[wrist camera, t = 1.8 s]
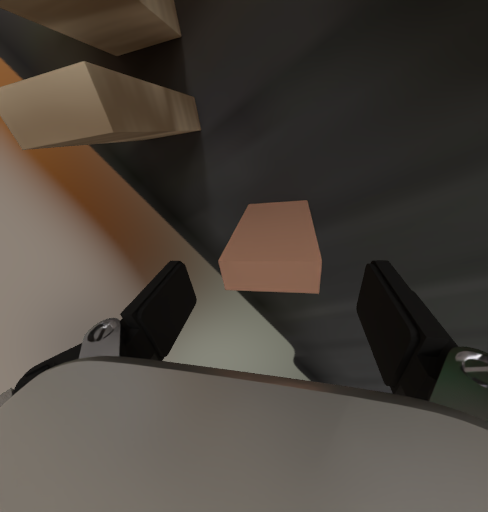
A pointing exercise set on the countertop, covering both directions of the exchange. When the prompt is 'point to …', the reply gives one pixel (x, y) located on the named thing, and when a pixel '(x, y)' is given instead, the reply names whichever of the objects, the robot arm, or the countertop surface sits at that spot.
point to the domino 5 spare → (273, 250)
